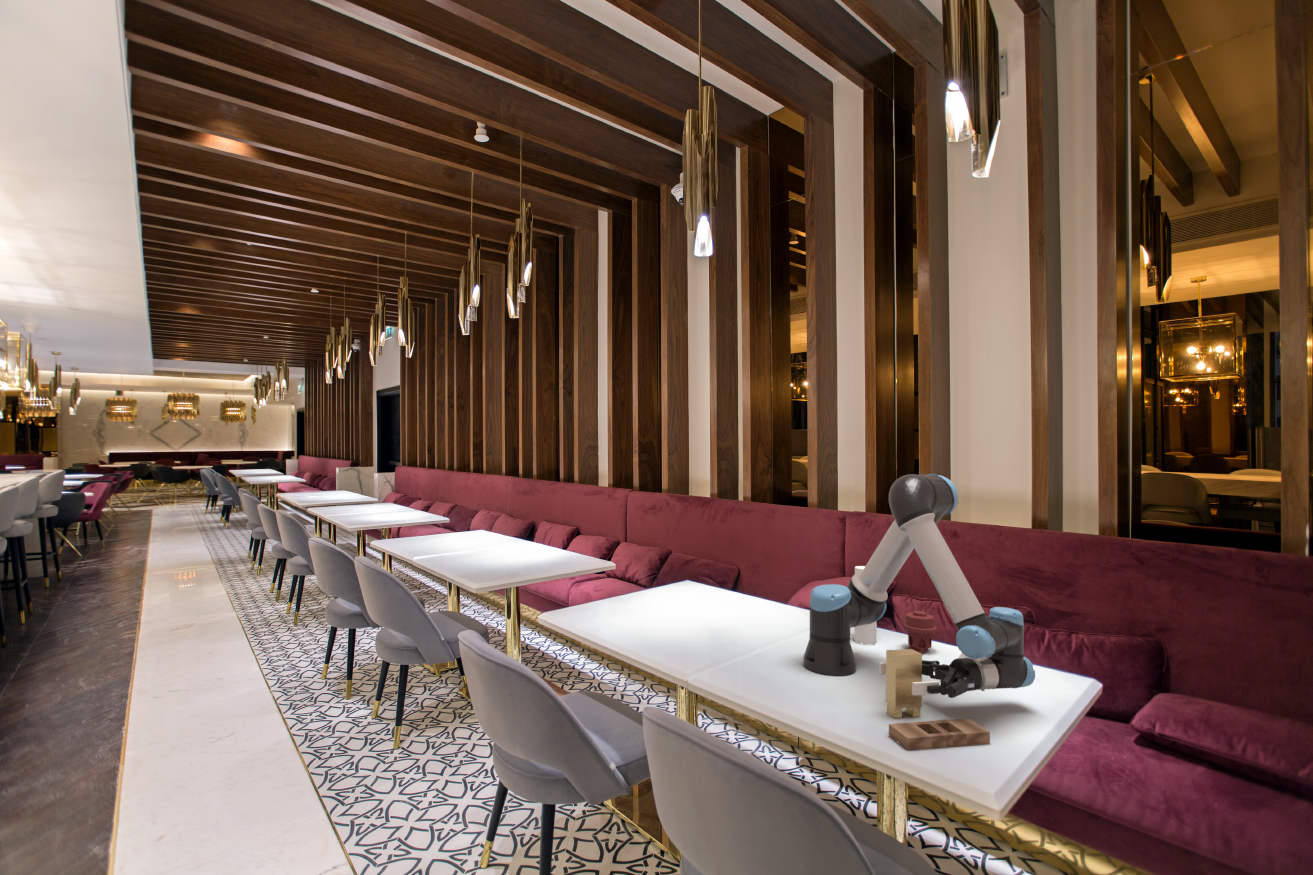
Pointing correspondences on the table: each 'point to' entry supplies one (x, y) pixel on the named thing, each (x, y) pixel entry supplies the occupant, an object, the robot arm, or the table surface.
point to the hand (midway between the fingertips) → (895, 678)
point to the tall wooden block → (903, 682)
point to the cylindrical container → (868, 631)
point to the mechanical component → (919, 630)
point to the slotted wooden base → (939, 734)
